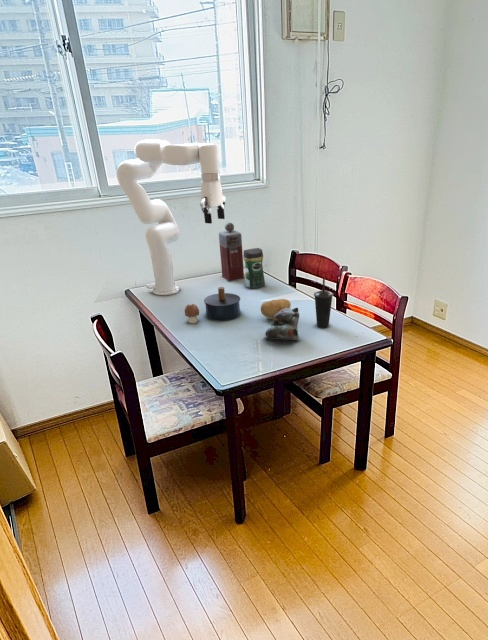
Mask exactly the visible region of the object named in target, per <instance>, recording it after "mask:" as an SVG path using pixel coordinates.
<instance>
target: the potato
mask: <svg viewBox="0 0 488 640" xmlns="http://www.w3.org/2000/svg"><path fill="white" fill-rule="evenodd" d="M286 308H291V301H290V300H288V299H285V298H278V299H272V300H269V301H264V302H263V303H262V304H261V305H260V314H262V316H263V317H265V318H266V319H269V320H274V316H275V315H276V314H277V313H278V312H280V311H281V310H282V309H286Z"/></svg>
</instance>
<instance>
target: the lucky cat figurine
mask: <svg viewBox="0 0 488 640" xmlns="http://www.w3.org/2000/svg"><path fill="white" fill-rule="evenodd" d="M299 320H300V312H299V307H294V308H291V307H290V308H286V309H282V310H281V311H280V312H278V313H277V314H276V315H275V316H274V319H273V321H272V324H271V325H270V326H269V327H268V328H267V329H266V331H265V332H264V333H265V334H264V335H265V336H264V337H263V340H264V339H265V340H266V341H267V340H287V341H295V342H297V341H298V340H299V338H300V336H299V335H300V334H299V329H298V324H299Z"/></svg>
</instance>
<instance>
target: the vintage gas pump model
mask: <svg viewBox="0 0 488 640" xmlns="http://www.w3.org/2000/svg"><path fill="white" fill-rule="evenodd" d="M242 237H243V236H242V233H241V232H240V231H237V230H235V225H234V224H233V223H232V222H230V221H229V222H226V223H225V224H224V230H223V231H218V242H219V243H218V244H219V254H220V255H219V256H220V265H221V277H222V278H223V279H225V280H226V281H228V282H233V281H239V280H243V279H244V280H245V269H244V258H243V255H244V252H243V240H242V239H243V238H242Z"/></svg>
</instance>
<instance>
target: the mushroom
mask: <svg viewBox="0 0 488 640" xmlns="http://www.w3.org/2000/svg"><path fill="white" fill-rule="evenodd" d="M199 315H200V309H199V307H198V306H197V305H196V304H194V303H188V304H187V305H186V306H185V308H184V316H185V317H187V318H188V323H189V324H195V323H198V316H199Z"/></svg>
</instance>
